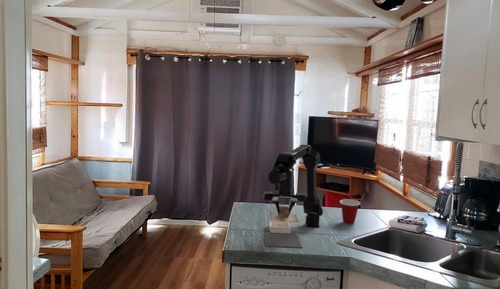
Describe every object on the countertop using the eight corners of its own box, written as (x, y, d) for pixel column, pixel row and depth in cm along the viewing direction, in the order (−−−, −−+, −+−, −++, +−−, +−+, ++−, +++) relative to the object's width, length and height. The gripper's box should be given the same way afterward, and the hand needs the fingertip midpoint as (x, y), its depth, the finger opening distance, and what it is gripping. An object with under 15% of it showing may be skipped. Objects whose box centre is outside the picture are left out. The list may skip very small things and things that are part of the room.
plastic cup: (336, 223, 198) (338, 202, 197) (339, 219, 208) (341, 198, 207) (357, 227, 194) (359, 204, 193) (359, 221, 204) (361, 200, 203)
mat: (297, 235, 175) (297, 234, 175) (302, 248, 159) (302, 247, 159) (264, 234, 175) (264, 233, 175) (265, 246, 159) (265, 245, 159)
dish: (288, 227, 188) (288, 221, 188) (290, 233, 178) (291, 227, 178) (269, 226, 188) (269, 220, 188) (270, 232, 178) (270, 226, 178)
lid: (295, 214, 172) (295, 205, 172) (298, 222, 161) (298, 211, 160) (269, 213, 173) (270, 203, 172) (270, 221, 161) (271, 210, 160)
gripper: (303, 178, 173) (301, 211, 174) (263, 177, 173) (262, 209, 174) (307, 183, 162) (305, 218, 163) (264, 181, 162) (263, 216, 163)
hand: (283, 215), depth 166 cm, fingers closed on lid, 4 cm apart
